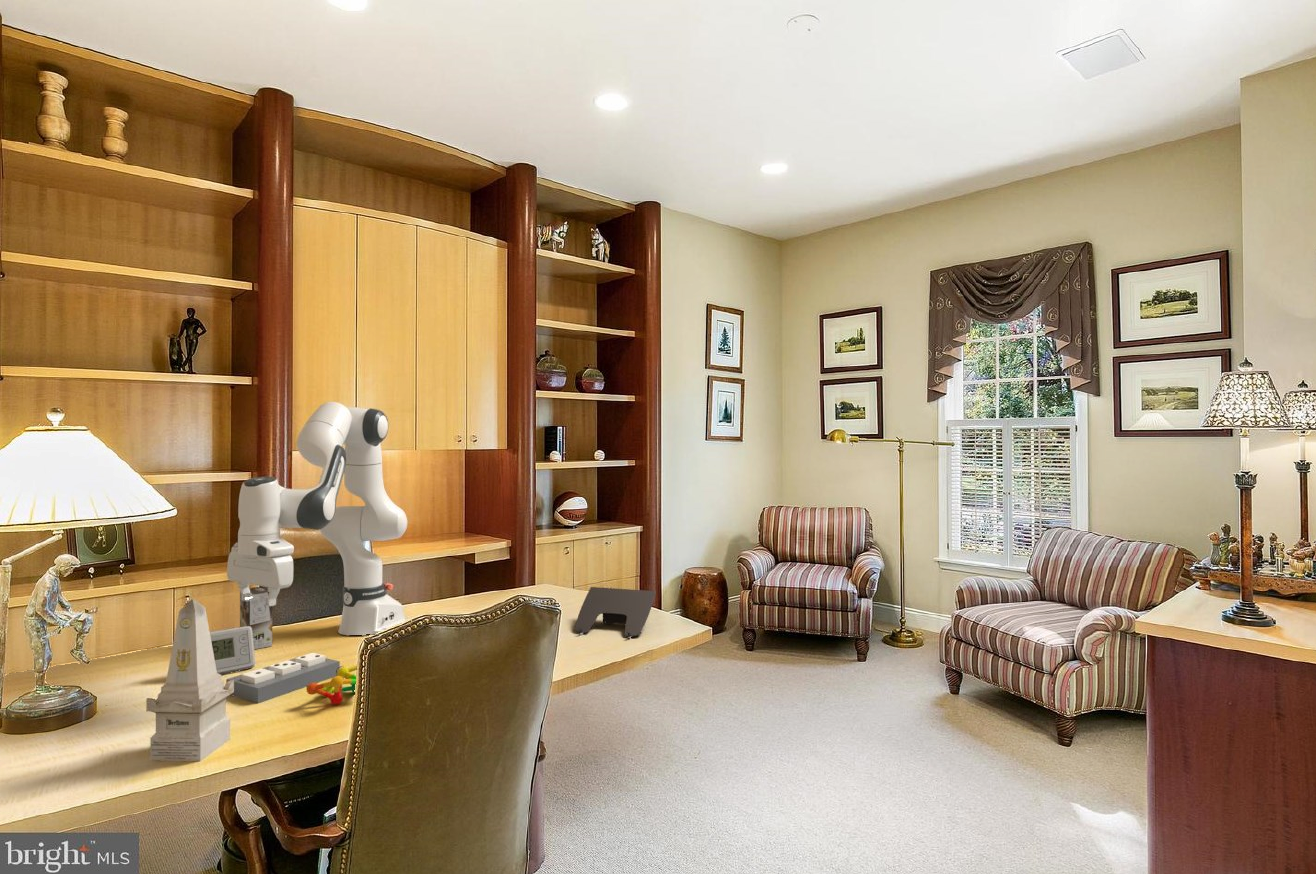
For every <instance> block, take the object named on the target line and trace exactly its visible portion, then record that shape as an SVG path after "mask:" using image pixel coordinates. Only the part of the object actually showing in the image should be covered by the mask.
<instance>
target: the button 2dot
mask: <svg viewBox="0 0 1316 874" xmlns="http://www.w3.org/2000/svg"><path fill="white" fill-rule="evenodd" d="M325 658H326V655H325V654H320V653H317V652H316V653H315V652H310V653H307V654H303V655H301V656H297V657H295V662H297V663H301V666H305V667H310V666H313V665H316V664H319V663H322V662H325Z"/></svg>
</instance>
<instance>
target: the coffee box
mask: <svg viewBox="0 0 1316 874" xmlns="http://www.w3.org/2000/svg"><path fill="white" fill-rule="evenodd" d="M249 589H250V593H252V600H251V601H242V594H241V592H240V591H239V627H245V626H250V627H251V628H252V633H253V643H254V650H257V649H263V648H268V647H272V646H273V606H267V605H265V598H268V595H269V592H268V588H267V587H263V586H256V587H249Z"/></svg>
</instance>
